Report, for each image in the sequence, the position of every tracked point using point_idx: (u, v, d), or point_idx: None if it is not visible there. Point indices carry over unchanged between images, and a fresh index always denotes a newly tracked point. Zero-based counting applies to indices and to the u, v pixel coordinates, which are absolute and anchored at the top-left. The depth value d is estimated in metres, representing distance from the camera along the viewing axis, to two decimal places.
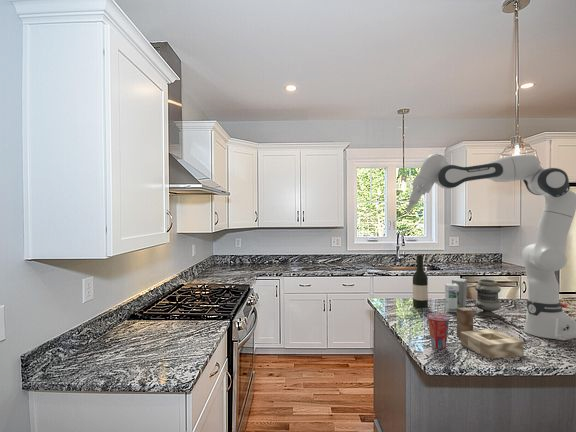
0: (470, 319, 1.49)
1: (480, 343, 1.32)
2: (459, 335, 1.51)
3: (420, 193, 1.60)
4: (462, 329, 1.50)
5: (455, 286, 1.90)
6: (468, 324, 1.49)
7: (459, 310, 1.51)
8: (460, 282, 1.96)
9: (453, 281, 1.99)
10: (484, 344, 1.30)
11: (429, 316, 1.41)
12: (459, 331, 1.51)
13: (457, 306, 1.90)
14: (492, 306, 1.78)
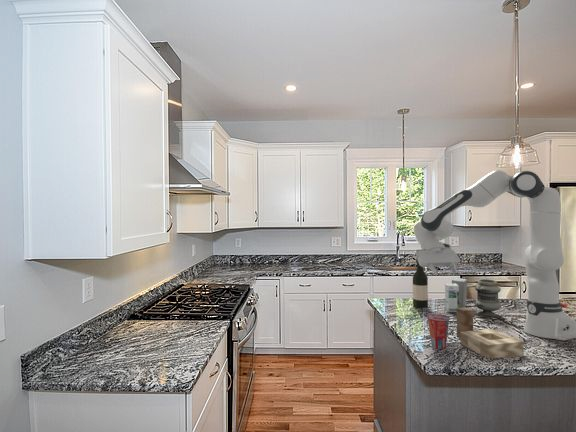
0: (470, 319, 1.49)
1: (480, 343, 1.32)
2: (459, 335, 1.51)
3: (419, 255, 1.67)
4: (462, 329, 1.50)
5: (455, 286, 1.90)
6: (468, 324, 1.49)
7: (459, 310, 1.51)
8: (460, 282, 1.96)
9: (453, 281, 1.99)
10: (484, 344, 1.30)
11: (429, 316, 1.41)
12: (459, 331, 1.51)
13: (457, 306, 1.90)
14: (492, 306, 1.78)
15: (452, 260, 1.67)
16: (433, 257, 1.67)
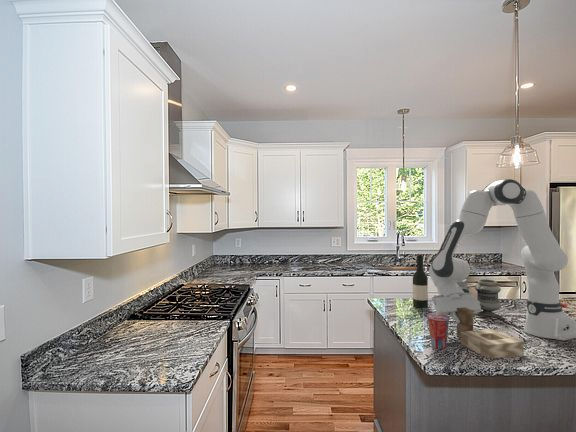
0: (470, 319, 1.49)
1: (480, 343, 1.32)
2: (459, 335, 1.51)
3: (436, 303, 1.55)
4: (462, 329, 1.49)
5: None
6: (468, 324, 1.49)
7: (459, 310, 1.51)
8: (460, 282, 1.96)
9: None
10: (484, 344, 1.30)
11: (429, 316, 1.41)
12: (459, 331, 1.51)
13: None
14: (492, 306, 1.78)
15: (472, 308, 1.55)
16: (452, 305, 1.54)
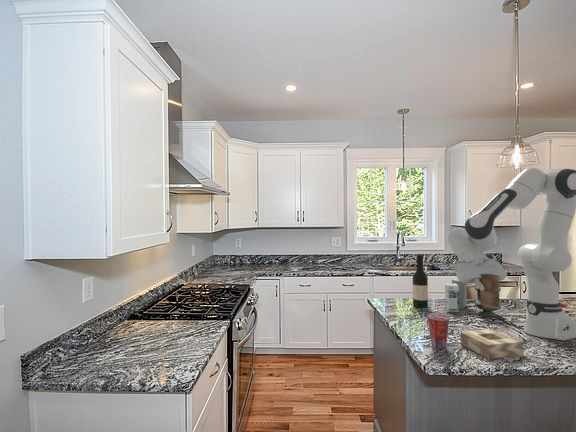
0: (496, 285, 1.35)
1: (480, 343, 1.32)
2: (483, 303, 1.38)
3: (458, 269, 1.41)
4: (487, 296, 1.36)
5: (455, 286, 1.90)
6: (494, 291, 1.35)
7: (483, 276, 1.37)
8: (460, 282, 1.96)
9: (453, 281, 1.99)
10: (484, 344, 1.30)
11: (429, 316, 1.41)
12: (483, 299, 1.38)
13: (457, 306, 1.90)
14: None
15: (498, 274, 1.41)
16: (475, 271, 1.40)
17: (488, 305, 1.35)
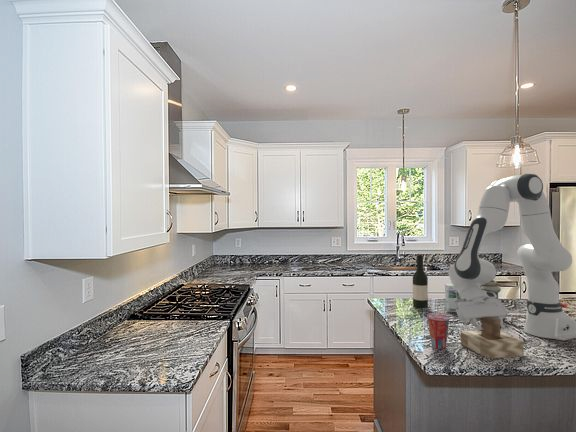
0: (497, 330, 1.35)
1: (480, 343, 1.32)
2: None
3: (459, 308, 1.41)
4: None
5: None
6: (495, 336, 1.35)
7: (484, 320, 1.37)
8: None
9: None
10: (484, 344, 1.30)
11: (429, 316, 1.41)
12: None
13: None
14: None
15: (499, 313, 1.40)
16: (476, 310, 1.40)
17: None
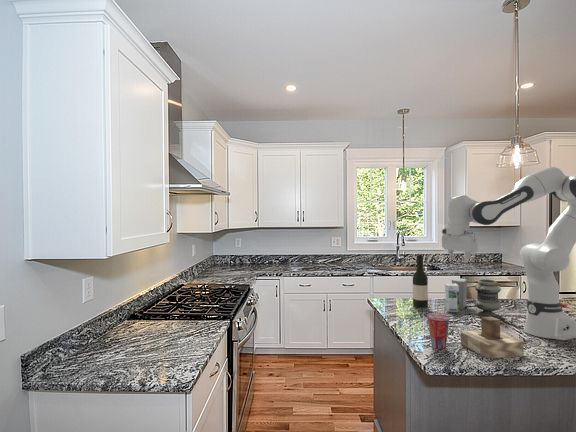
0: (497, 330, 1.35)
1: (480, 343, 1.32)
2: None
3: (475, 241, 1.54)
4: None
5: (455, 286, 1.90)
6: (495, 336, 1.35)
7: (484, 320, 1.37)
8: (460, 282, 1.96)
9: (453, 281, 1.99)
10: (484, 344, 1.30)
11: (429, 316, 1.41)
12: None
13: (457, 306, 1.90)
14: (492, 306, 1.78)
15: None
16: None
17: None
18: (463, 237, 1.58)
